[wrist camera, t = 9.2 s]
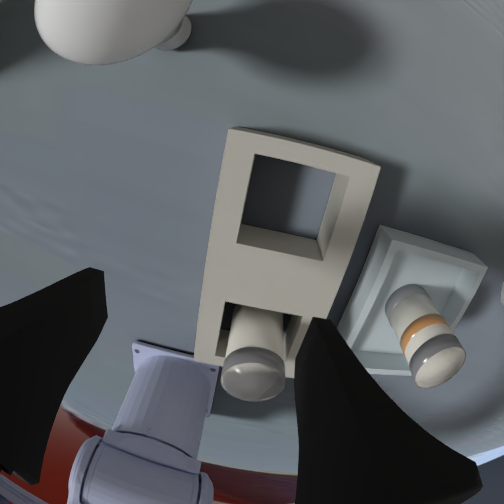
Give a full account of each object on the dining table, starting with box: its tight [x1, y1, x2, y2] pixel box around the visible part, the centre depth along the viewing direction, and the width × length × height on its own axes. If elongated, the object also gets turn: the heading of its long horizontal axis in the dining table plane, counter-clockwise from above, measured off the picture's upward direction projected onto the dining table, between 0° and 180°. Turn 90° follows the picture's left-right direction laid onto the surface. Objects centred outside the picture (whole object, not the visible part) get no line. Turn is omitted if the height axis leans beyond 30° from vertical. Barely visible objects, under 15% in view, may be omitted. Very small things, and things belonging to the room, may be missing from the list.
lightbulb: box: [34, 0, 192, 65], centre depth 9 cm, size 6×6×11 cm
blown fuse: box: [385, 284, 466, 388], centre depth 18 cm, size 4×4×7 cm
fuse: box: [221, 303, 286, 402], centre depth 19 cm, size 4×4×7 cm
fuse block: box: [194, 126, 381, 378], centre depth 19 cm, size 16×8×3 cm, turn 169°
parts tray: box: [337, 225, 488, 376], centre depth 20 cm, size 11×9×2 cm
